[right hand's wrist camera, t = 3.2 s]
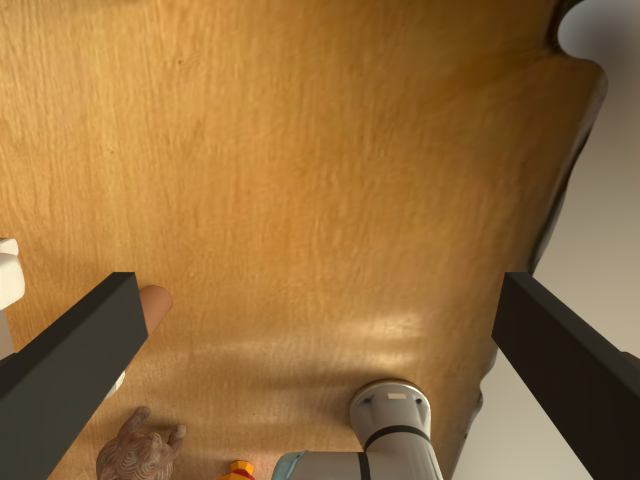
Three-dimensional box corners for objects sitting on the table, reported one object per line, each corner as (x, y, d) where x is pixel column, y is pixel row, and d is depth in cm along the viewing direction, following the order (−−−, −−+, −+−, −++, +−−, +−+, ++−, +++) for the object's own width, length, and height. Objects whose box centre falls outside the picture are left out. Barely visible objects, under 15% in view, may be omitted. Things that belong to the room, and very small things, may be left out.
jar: (135, 306, 60) (64, 386, 44) (144, 280, 58) (73, 353, 42) (167, 318, 61) (110, 401, 45) (176, 293, 59) (121, 369, 43)
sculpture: (208, 397, 68) (179, 475, 54) (168, 476, 76) (133, 561, 62) (137, 371, 65) (88, 445, 51) (103, 455, 74) (53, 539, 60)
